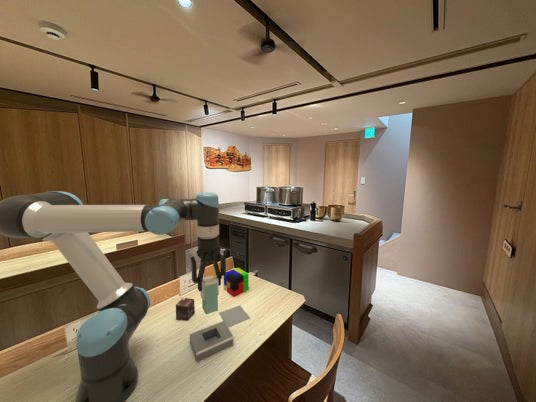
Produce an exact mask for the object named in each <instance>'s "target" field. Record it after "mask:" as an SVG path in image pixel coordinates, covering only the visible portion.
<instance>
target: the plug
mask: <svg viewBox="0 0 536 402" xmlns="http://www.w3.org/2000/svg"><path fill="white" fill-rule="evenodd" d="M214 276H215V275H211V276H206V277H203V282H204V288H205V300H202V299H201V304H202V305H201V307H202V310H203V312H204V314H205V315H209V314H211V313H214V312H217V311H219V305H218V304H219V303H218V302H219V299H218V298H219V297H218V296H219V295H218V287H217V280H216V279H215V277H214Z"/></svg>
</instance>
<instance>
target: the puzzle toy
mask: <svg viewBox="0 0 536 402" xmlns="http://www.w3.org/2000/svg"><path fill="white" fill-rule="evenodd" d="M249 288H250V287H249V273H248V272H246V271H244V270H243V269H241V268H240V267H237V268H234V269H230V270H228V271H226V274H225V275H224V276H223V290H224V291H227V294H229V295H230V296H231V297H232V298H235V297H237V296H239V295H241V294H243V293H245V292H246V293H247V291H249Z"/></svg>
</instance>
